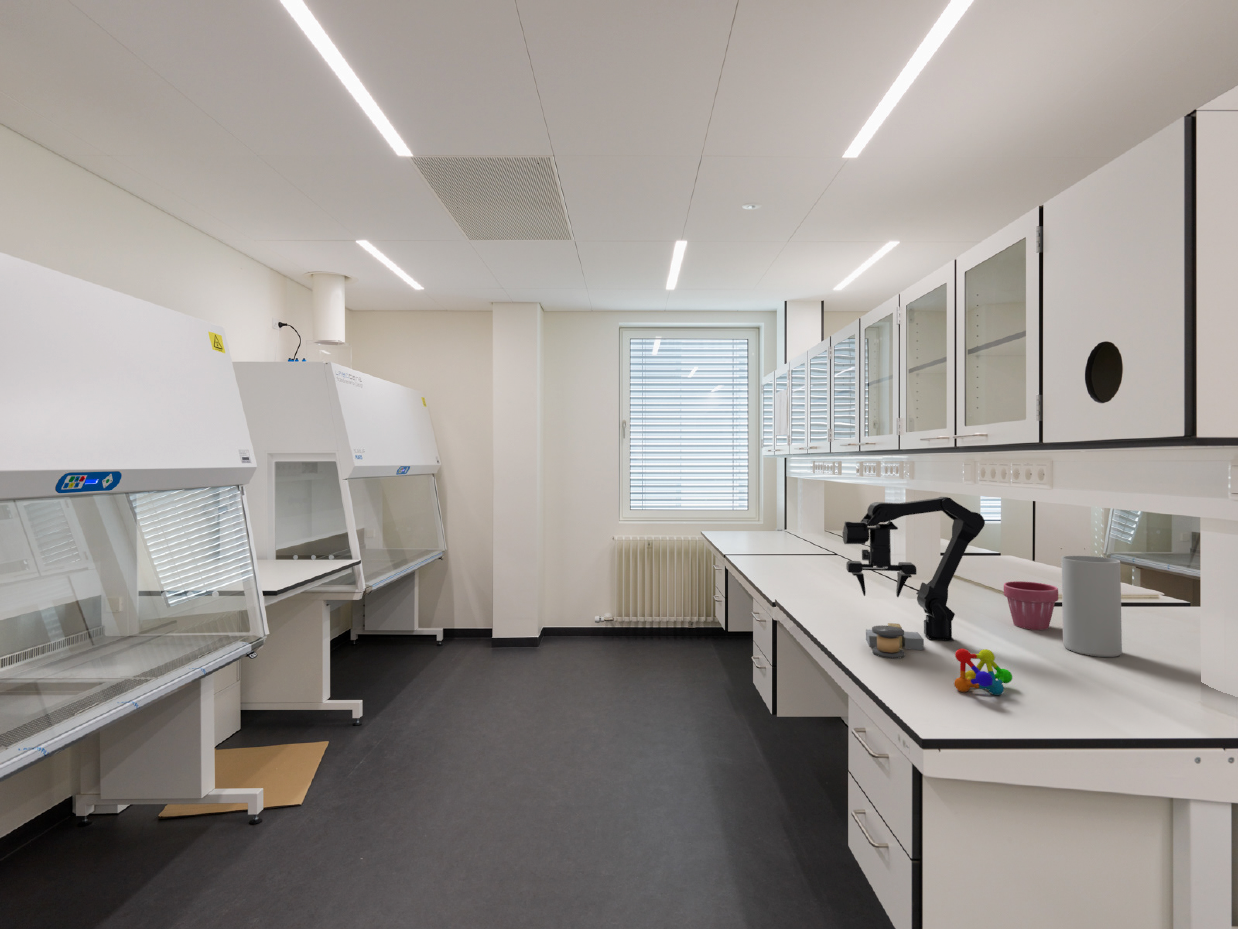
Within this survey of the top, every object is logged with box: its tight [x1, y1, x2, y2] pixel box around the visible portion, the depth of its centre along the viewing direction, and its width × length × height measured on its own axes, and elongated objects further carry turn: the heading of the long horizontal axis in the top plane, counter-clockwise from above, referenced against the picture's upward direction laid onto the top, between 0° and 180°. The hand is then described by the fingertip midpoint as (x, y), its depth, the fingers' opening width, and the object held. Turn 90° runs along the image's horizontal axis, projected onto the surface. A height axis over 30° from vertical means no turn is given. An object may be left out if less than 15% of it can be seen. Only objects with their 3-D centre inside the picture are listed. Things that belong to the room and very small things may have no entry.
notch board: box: [865, 628, 925, 651], centre depth 168 cm, size 14×7×3 cm, turn 75°
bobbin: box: [871, 625, 906, 660], centre depth 160 cm, size 8×8×7 cm
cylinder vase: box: [1061, 555, 1123, 658], centre depth 160 cm, size 12×12×25 cm
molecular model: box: [953, 648, 1013, 696], centre depth 134 cm, size 11×10×15 cm
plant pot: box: [1003, 580, 1059, 631], centre depth 185 cm, size 14×14×13 cm
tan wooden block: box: [887, 622, 903, 650], centre depth 166 cm, size 3×4×6 cm
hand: (880, 596), depth 176 cm, fingers open, 9 cm apart
